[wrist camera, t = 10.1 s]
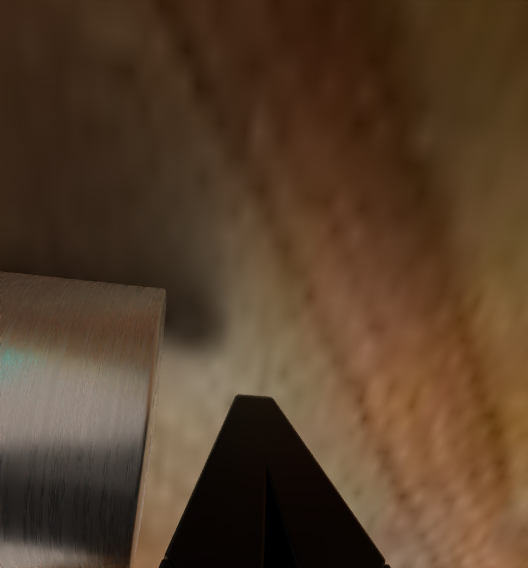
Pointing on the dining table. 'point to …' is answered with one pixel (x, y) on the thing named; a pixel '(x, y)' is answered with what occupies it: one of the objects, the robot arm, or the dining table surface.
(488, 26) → the dining table surface
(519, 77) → the dining table surface
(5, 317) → the tube
